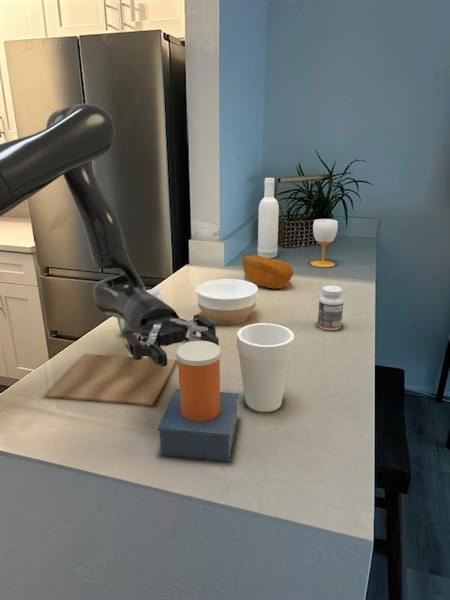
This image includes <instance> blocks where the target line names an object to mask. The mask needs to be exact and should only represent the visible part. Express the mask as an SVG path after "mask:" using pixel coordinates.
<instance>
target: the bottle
mask: <svg viewBox="0 0 450 600" xmlns="http://www.w3.org/2000/svg"><path fill="white" fill-rule="evenodd" d="M263 183H264V195H263V196H264V197H263V198H262V199H261V200H260V202H259V205H258V219H257V220H258V221H257V222H258V225H257V255H259V256H262V257H266V258H271V259H274V258H276V257H278V243H279V242H278V239H279V217H280V216H279V214H280V206H279V202H278V200H277V199H276V197H275V178H274V177H265V178H264V182H263Z"/></svg>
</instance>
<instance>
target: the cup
mask: <svg viewBox="0 0 450 600" xmlns="http://www.w3.org/2000/svg"><path fill="white" fill-rule="evenodd" d="M338 229H339V225H338V220H336V219H330V218H319V219H314V220H313V224H312V233H313V237H314V240H315V241H316V242H317V243H318V244H319V245H321V246H322V250H321V260H320V259H319V260H318V259H317V260H313V261H312V260H311V262H310V263H309V264H310V265H311V266H313V267H316V268H333V267H335V266H336V263H335V262H333V261H330V260H325V252H326V246H328V245H330V244H332V242H334V240H335V238H336V236H337V233H338Z"/></svg>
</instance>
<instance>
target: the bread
mask: <svg viewBox="0 0 450 600" xmlns="http://www.w3.org/2000/svg"><path fill="white" fill-rule="evenodd" d="M241 259H242V261H241V262H242V269H243V273H244V275H245V278H246V279H247V281H248V282H251V283H253V284H255V285H256V286H259V287H263V288H269V289H273V290H274V289H282V288H284V287H285V286H286V285H287V284H288V283H289V282H290V281H291V280H292V277H293V275H294V269H293V268H292V266H291V265H289V264H288V263H287V262H285V261H282V260H279V259H274V258H266V257H262V256H259V255H258V254H251V255H246V256H243V257H242V258H241Z"/></svg>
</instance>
